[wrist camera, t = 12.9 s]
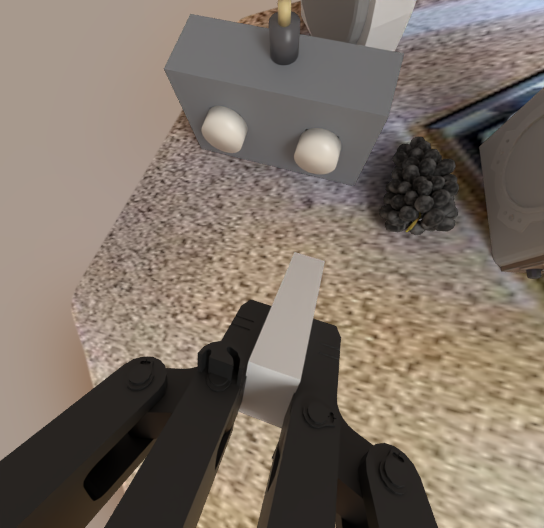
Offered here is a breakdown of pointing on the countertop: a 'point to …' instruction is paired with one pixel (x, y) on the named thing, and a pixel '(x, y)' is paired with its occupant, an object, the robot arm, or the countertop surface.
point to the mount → (284, 91)
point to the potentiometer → (284, 34)
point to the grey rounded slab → (358, 21)
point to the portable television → (517, 190)
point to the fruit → (420, 190)
